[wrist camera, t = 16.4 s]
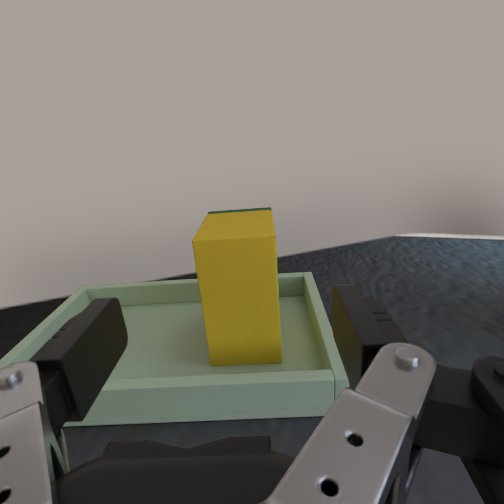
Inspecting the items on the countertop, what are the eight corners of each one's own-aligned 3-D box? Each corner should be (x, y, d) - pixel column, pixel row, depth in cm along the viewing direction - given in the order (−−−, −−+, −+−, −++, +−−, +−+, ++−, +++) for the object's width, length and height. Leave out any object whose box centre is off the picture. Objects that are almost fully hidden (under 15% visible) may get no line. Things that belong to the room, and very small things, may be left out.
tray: (311, 296, 31) (311, 271, 30) (348, 415, 18) (349, 378, 17) (88, 309, 32) (81, 285, 31) (-24, 430, 19) (-41, 396, 18)
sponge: (277, 310, 28) (271, 207, 25) (282, 363, 22) (275, 234, 19) (221, 313, 28) (208, 211, 25) (210, 367, 22) (191, 240, 19)
